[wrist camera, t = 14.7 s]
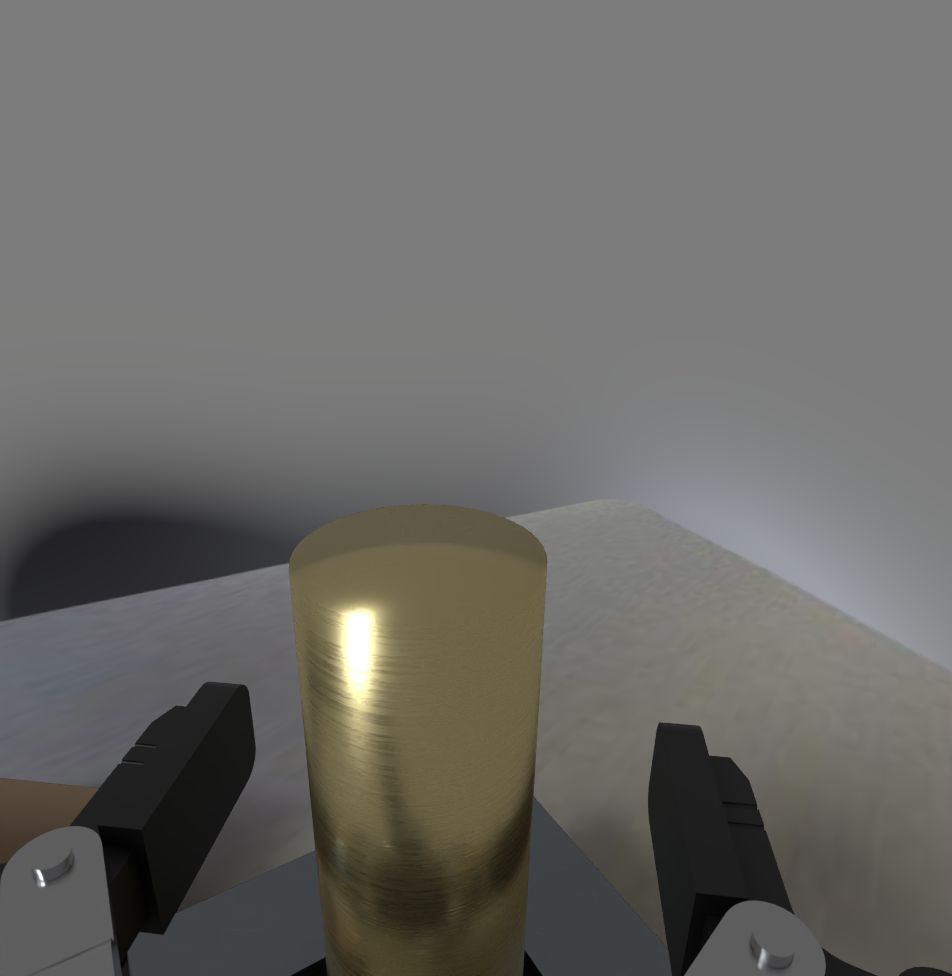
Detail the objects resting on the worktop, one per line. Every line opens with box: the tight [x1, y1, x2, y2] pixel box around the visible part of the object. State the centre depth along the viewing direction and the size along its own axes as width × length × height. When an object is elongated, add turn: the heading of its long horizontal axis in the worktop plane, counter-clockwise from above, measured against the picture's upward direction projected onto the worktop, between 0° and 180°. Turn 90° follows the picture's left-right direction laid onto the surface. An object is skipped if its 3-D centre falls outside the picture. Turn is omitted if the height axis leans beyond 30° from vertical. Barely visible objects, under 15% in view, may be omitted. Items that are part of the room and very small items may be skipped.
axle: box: [289, 504, 547, 976], centre depth 13 cm, size 4×4×16 cm
